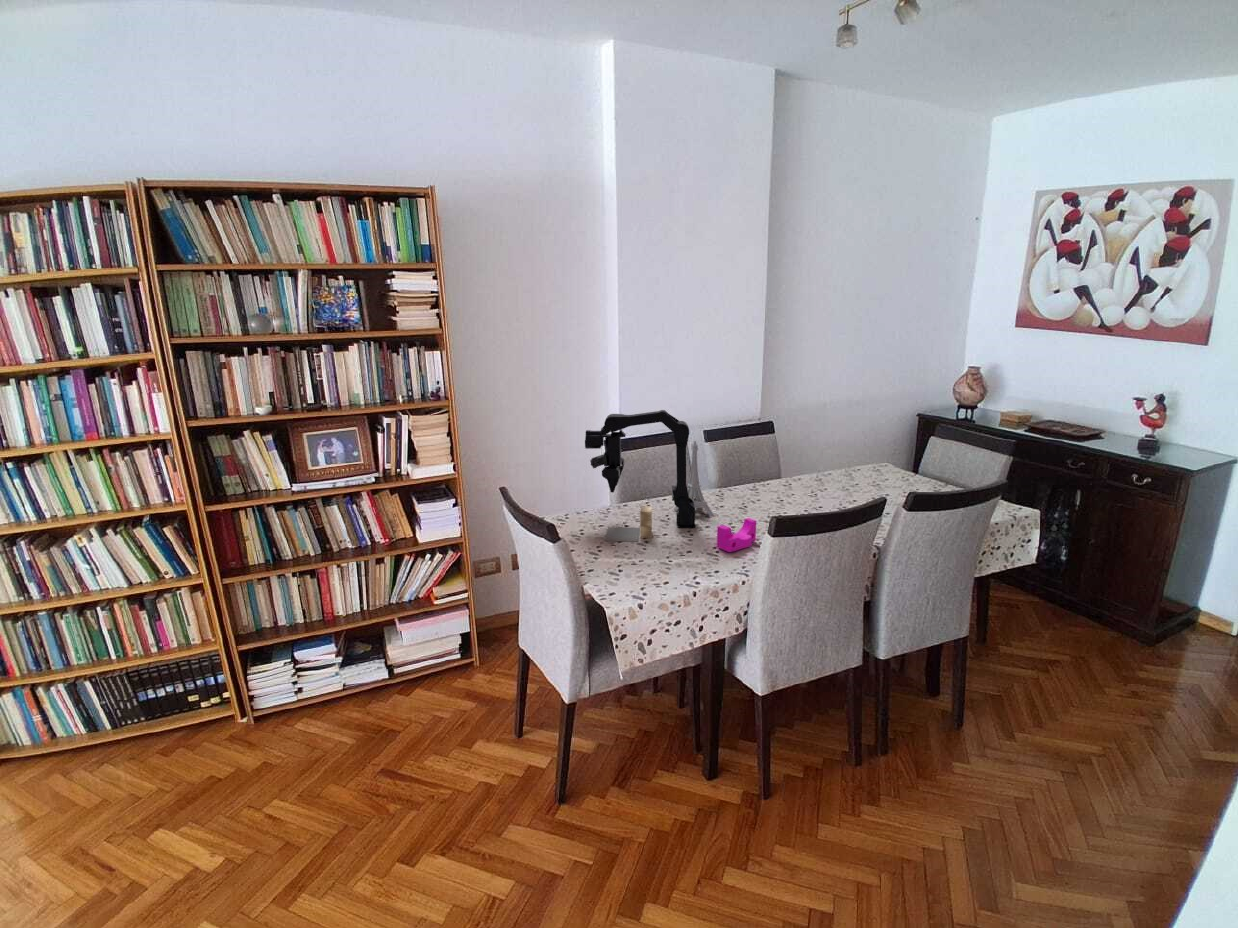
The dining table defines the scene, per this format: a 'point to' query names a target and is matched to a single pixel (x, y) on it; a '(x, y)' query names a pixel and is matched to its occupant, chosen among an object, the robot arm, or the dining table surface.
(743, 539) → the toy block
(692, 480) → the eiffel tower
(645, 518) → the oak block
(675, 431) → the robot arm
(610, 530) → the placemat
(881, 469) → the dining table surface
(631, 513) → the dining table surface
